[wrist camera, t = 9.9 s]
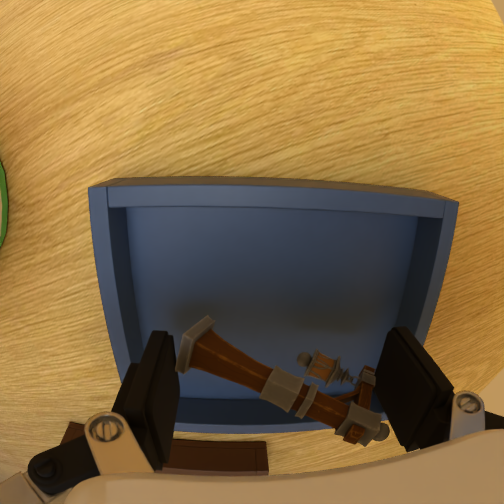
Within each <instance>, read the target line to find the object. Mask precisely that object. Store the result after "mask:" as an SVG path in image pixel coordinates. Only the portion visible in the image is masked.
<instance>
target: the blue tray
mask: <svg viewBox="0 0 504 504" xmlns="http://www.w3.org/2000/svg"><path fill="white" fill-rule="evenodd" d="M88 197H89V210H90V222H91V231H92V240H93V248H94V256H95V263H96V270H97V276H98V282H99V288H100V294H101V299H102V305H103V310H104V315H105V319H106V324H107V329H108V333H109V337H110V342H111V346H112V350H113V354H114V358H115V362H116V365H117V369H118V373H119V376H120V380H121V383H122V382H123V380H124V377H125V375H126V372H127V370H128V367H129V365H130V363H140V361H141V358H142V355H143V353H144V350H145V347H146V345H147V342H148V340H149V337H150V335H151V332H152V331H153V330H159V331H168V335H173V338H174V346H175V354H176V362H177V358H178V353H179V349H180V344H181V340H182V336H183V334H184V333H185V332H186V331H188V330H189V329H190V328H191V327H193V326H194V325H195V324H197V323H198V322H199V321H200V320H202V319H203V318H204V317H206V316H207V315H208V316H209V318H211V319H212V320H216V321H215V324H214V327H213V331H214V332H215V333H216V334H218V335H219V336H220V337H221V338H223V339H224V340H225V341H227V342H228V343H230V344H231V345H233V346H234V347H236V348H237V349H239V350H240V351H242V352H243V353H245V354H247V355H248V356H250V357H251V358H253V359H255V360H256V361H258V362H260V363H262V364H264V365H266V366H268V367H270V368H272V369H274V368H275V366H276V365H277V366H278V367H279V368H281V369H282V370H284V371H286V372H288V373H290V374H292V375H294V376H297V377H301V378H305V379H304V382H303V383H304V384H306V385H308V386H310V385H311V383H312V382H313V383H314V384H316V385H319V386H318V389H317V390H318V391H320V392H322V393H324V394H326V395H328V396H330V397H332V398H336V397H339V396H341V395H344V394H347V393H350V392H352V391H354V388H355V386H353V385H351V384H350V382H347V381H346V382H345V383H344V384H342V385H341V379H340V380H339V381H338V382H337V380H335V381H334V382H332V383H331V384H330V385H329V386H328V387H327V388H325V385H326V382H324V381H322V380H319V379H316V378H313V377H310V376H305V377H304V374H305V371H306V369H307V367H301V366H299V365H298V363H297V357H298V355H299V354H300V353H303V352H307V353H309V354H310V355H311V357H312V356H313V354H314V352H315V350H316V348H317V349H318V351H319V352H320V353H322V354H324V355H326V356H328V357H330V358H332V359H335V360H337V358H338V356H340V357H341V358H340V367H341V369H343V368H344V370H343V373H344V372H345V371H346V369H347V368H349V375H351V376H352V377H353V376H358V377H359V374H360V372H361V370H362V369H363V367H364V366H365V365H367V366H369V367H372V368H374V369H375V371H376V368H377V365H378V362H379V359H380V356H381V352H382V349H383V346H384V343H385V339H386V336H387V333H388V331H391V329H392V328H393V327H400V326H406V327H407V328H408V329H409V330H410V331H411V333H412V334H413V335H414V336H415V337H416V339H417V340H418V341H419V342H420V344H421V345H422V346H423V345H424V342H425V339H426V336H427V333H428V330H429V327H430V324H431V321H432V318H433V315H434V312H435V308H436V305H437V302H438V298H439V295H440V291H441V287H442V284H443V280H444V276H445V272H446V268H447V263H448V259H449V255H450V250H451V245H452V240H453V235H454V230H455V225H456V219H457V213H458V206H459V202H458V201H455V200H452V199H449V198H447V197H444V196H441V195H438V194H435V193H432V192H429V191H424V190H416V189H408V188H399V187H390V186H381V185H371V184H360V183H349V182H336V181H322V180H307V179H288V178H265V177H224V176H178V177H137V178H114V179H111V180H108V181H105V182H102V183H99V184H96V185H94V186H91V187H88ZM374 373H375V372H374ZM178 376H179V383H180V397H179V403H178V409H177V414H176V420H175V426H174V431H183V432H198V433H224V434H258V433H284V432H299V431H311V430H321V429H330V428H332V427H330V426H328V425H326V424H323V423H321V422H319V421H317V420H314V419H312V418H310V417H308V416H306V415H304V417H303V418H302V419H301V418H300V417H297V416H295V414H296V412H297V411H295V410H292V409H290V410H289V412H288V413H287V412H286V411H285V410H283V409H282V408H281V407H279V406H277V405H275V404H273V403H271V402H269V401H267V400H264V399H260V398H259V396H260V394H261V393H258V392H256V391H254V390H252V389H249V388H247V387H245V386H243V385H240V384H238V383H235V382H232V381H229V380H226V379H224V378H221V377H218V376H216V375H213V374H211V373H208V372H205V371H202V370H198V369H195V368H191V369H190V370H189V371H188V372H187V373H185V374H184V375H183V374H182V373H180V372H178ZM348 380H350V377H349V378H348ZM356 382H357V378H353V382H352V383H353V384H356ZM352 402H354V400H352ZM350 403H351V401H349V402H347V403H344V404H346V405H348V406H349V404H350ZM369 411H372V412H374V413H378V414H382V416H381V421H384V420H388V418H387V416H386V414H385V412H384V410H383V408H382V406H381V403H380V401H379V399H378V397H377V395H376V393H375V391H374V389H372V395H371V403H370V410H369Z"/></svg>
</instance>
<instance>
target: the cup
mask: <svg viewBox="0 0 504 504" xmlns="http://www.w3.org/2000/svg"><path fill="white" fill-rule="evenodd" d="M7 212H8V199H7V189H6V182H5V174H4V170H3V168H2V165H1V162H0V247H1V245H2V242H3V240H4V237H5V234H6V227H7Z"/></svg>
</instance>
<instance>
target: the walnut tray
mask: <svg viewBox="0 0 504 504" xmlns="http://www.w3.org/2000/svg"><path fill="white" fill-rule="evenodd" d="M84 428H85V425H80V424H76V423H72V422H70V423H69V426H68V428H67V430H66V432H65V434H64V437H63V439H62V441H61V443H60V445H61V444H63V443H66V442H68V441H70V440H73V439H75V438H77V437H80V436H82V435H84V434H85V431H84ZM266 448H267V447H266V442H207V441H190V440H177V439H172V444H171V451H170V457H169V462H168V464H167V463H163V469H162V471H160V470H156V471H155V473H162V474H179V475H196V476H267V475H268V473H269V467H268V457H267V449H266Z"/></svg>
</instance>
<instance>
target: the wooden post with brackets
mask: <svg viewBox="0 0 504 504" xmlns="http://www.w3.org/2000/svg"><path fill="white" fill-rule="evenodd" d="M215 321H216V320H212V319H211V318H209V316H208V315H207V316H206V317H204V318H203V319H202V320H200V321H199V322H198V323H197V324H195V325H194V326H193V327H191V328H190V329H189V330H188V331H186V332H185V333H184V334H183V336H182V340H181V344H180V349H179V353H178V358H177V362H176V366H175V372H177V371H178V372H180V373H182V374H183V375H184V374H185V373H187V372H188V371H189V370H190V369H191V368H195V369H198V370H202V371H205V372H208V373H211V374H213V375H216V376H218V377H221V378H224V379H226V380H229V381H232V382H235V383H238V384H240V385H243V386H245V387H247V388H249V389H252V390H254V391H256V392H258V393H261V394H260V396H259V398H260V399H264V400H267V401H269V402H271V403H273V404H275V405H277V406H279V407H281V408H282V409H283V410H285V411H286V412H287V413H288V412H289V410H290V409H292V410H295V411H297V412H296V414H295V416H297V417H300V418H301V419H302V418H303V417H304V415H306V416H308V417H310V418H312V419H314V420H317V421H319V422H321V423H323V424H326V425H328V426H330V427H332V428H335V429H336V430H335V434H336V435H341V436H343V437H344V438H343V440H344V441H346V442H349V443H352V444H356V443H357V442H358V443H360V444H362V445H363V446H364V447H366V446H367V444H368V443H369V442H370V441H371V440H372V439H373V440H375V441H383V440H385V439H386V438H387V437H388V436H389V433H390V430H389V427H388V425H387V424H385V423H381V416H382V414H378V413H374V412H372V411H369V410H370V403H371V395H372V389H373V388H374V386H375V381H376V377H375V376H374V374H375V373H374V372H375V369H374V368H372V367H369V366H367V365H365V366H364V367H363V369H362V370H361V372H360V374H359V377H358V376H353V377H352V376H351V375H349V368H347V369H346V371H345V372H344V373H343V370H344V368H343V369H341V367H340V358H341V357H340V356H338V358H337V360H335V359H332V358H330V357H328V356H326V355H324V354H322V353H320V352H319V351H318V349H317V348H316V350H315V352H314V354H313V356H312V357H311V355H310V354H309V353H307V352H303V353H300V354H299V355H298V357H297V363H298V365H299V366H301V367H307V369H306V371H305V374H304V377H305V376H310V377H313V378H316V379H319V380H322V381H324V382H326V385H325V388H327V387H328V386H329V385H330V384H331V383H332V382H334V381H335V380H337V382H338V381H339V380H340V379H341V385H342V384H344V383H345V382H346V381H347V382H350V384H351V385H353V386H355V388H354V391H352V392H350V393H347V394H344V395H341V396H339V397H336V398H332V397H330V396H328V395H326V394H324V393H322V392H320V391H318V390H317V389H318V386H319V385H316V384H314V383H313V382H312V383H311V385H310V386H308V385H306V384H304V383H303V382H304V379H305V378H301V377H297V376H294V375H292V374H290V373H288V372H286V371H284V370H282V369H281V368H279V367H278V366H277V365H276V366H275V368H274V369H272V368H270V367H268V366H266V365H264V364H262V363H260V362H258V361H256V360H255V359H253V358H251V357H250V356H248V355H247V354H245V353H243V352H242V351H240V350H239V349H237V348H236V347H234V346H233V345H231V344H230V343H228V342H227V341H225V340H224V339H223V338H221V337H220V336H219V335H218V334H216V333H215V332H214V331H213V327H214V324H215ZM349 377H350V380H348V378H349ZM353 378H357V382H356V384H353V383H352V382H353ZM352 400H354V402H352ZM349 401H351V403H350V404H349V406H348V405H346V404H344V403H347V402H349Z"/></svg>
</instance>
